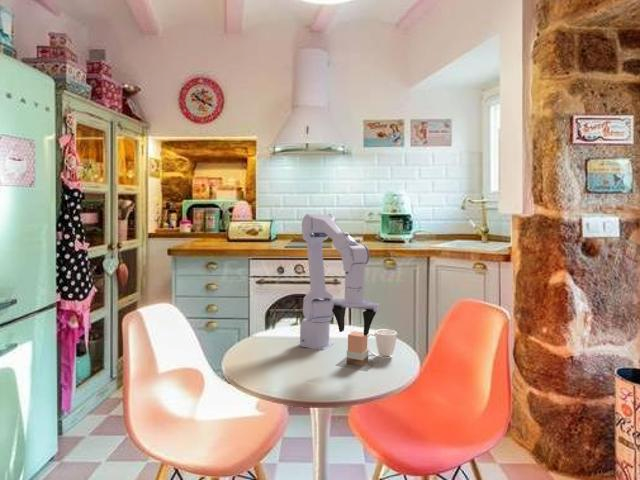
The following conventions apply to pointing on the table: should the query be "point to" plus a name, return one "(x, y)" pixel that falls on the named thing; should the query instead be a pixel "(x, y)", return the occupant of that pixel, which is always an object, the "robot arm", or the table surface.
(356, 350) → the block
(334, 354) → the table surface
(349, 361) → the tower base
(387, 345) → the cup
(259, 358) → the table surface
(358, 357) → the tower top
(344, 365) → the coaster
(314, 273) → the robot arm
